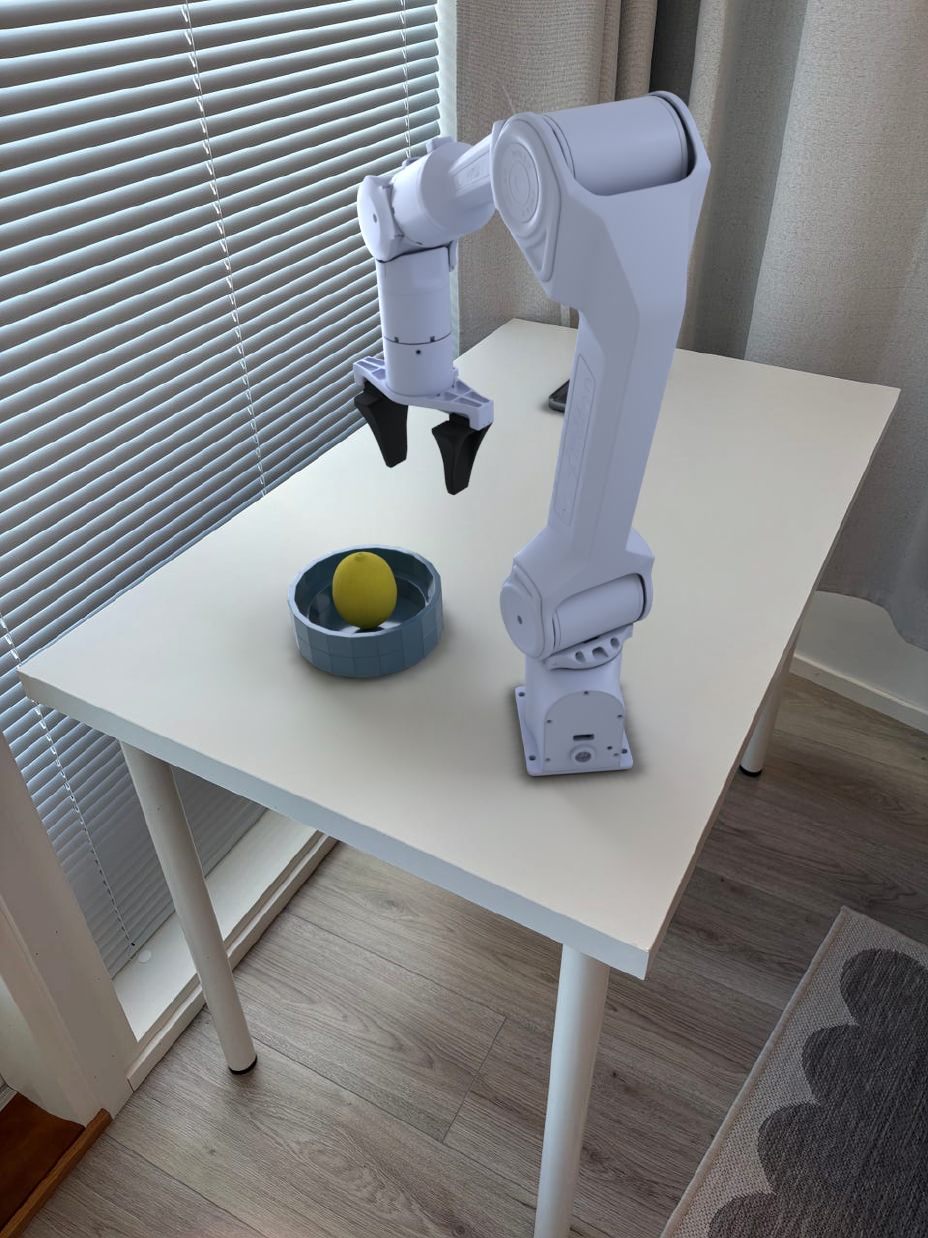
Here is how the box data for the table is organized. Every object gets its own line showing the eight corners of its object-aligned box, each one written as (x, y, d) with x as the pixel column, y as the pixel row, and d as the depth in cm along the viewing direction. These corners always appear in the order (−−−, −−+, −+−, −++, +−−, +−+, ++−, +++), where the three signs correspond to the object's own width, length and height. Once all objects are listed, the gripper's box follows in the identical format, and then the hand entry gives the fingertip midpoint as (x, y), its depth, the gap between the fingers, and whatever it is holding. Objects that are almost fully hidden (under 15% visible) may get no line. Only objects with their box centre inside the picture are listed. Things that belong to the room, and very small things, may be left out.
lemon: (391, 650, 82) (383, 576, 77) (330, 643, 83) (318, 569, 78) (406, 610, 86) (400, 538, 81) (348, 604, 87) (338, 532, 82)
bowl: (447, 676, 80) (445, 631, 77) (291, 687, 80) (282, 642, 77) (440, 583, 91) (437, 540, 87) (301, 592, 90) (293, 549, 87)
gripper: (517, 335, 76) (516, 483, 84) (388, 296, 83) (399, 435, 92) (459, 365, 72) (464, 517, 80) (328, 321, 79) (346, 464, 88)
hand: (426, 476), depth 86 cm, fingers open, 7 cm apart
